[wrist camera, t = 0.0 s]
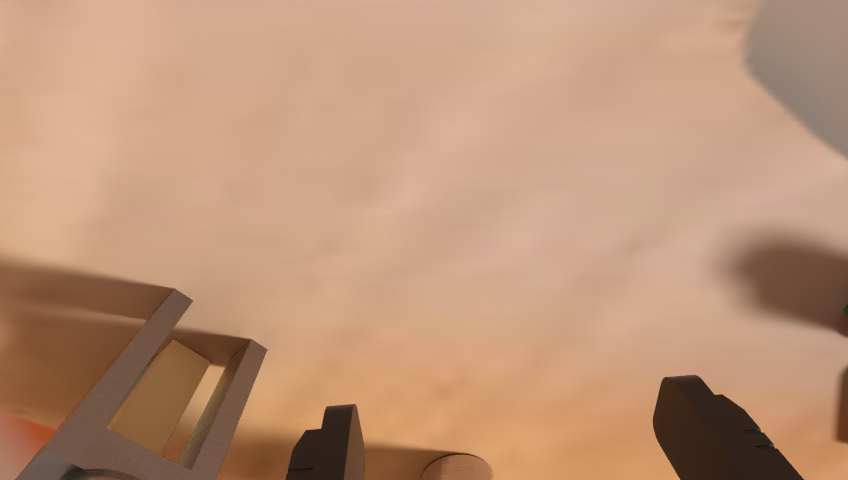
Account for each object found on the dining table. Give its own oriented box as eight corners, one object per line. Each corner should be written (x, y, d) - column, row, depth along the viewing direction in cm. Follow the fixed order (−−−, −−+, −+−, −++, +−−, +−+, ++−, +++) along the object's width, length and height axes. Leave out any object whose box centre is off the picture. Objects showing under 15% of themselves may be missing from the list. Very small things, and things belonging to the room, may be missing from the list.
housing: (236, 377, 49) (142, 586, 31) (144, 321, 45) (-23, 523, 27) (275, 341, 47) (198, 542, 29) (183, 279, 43) (30, 468, 25)
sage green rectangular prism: (146, 423, 52) (79, 531, 41) (109, 404, 50) (30, 511, 40) (211, 362, 48) (156, 462, 37) (173, 339, 46) (105, 437, 36)
